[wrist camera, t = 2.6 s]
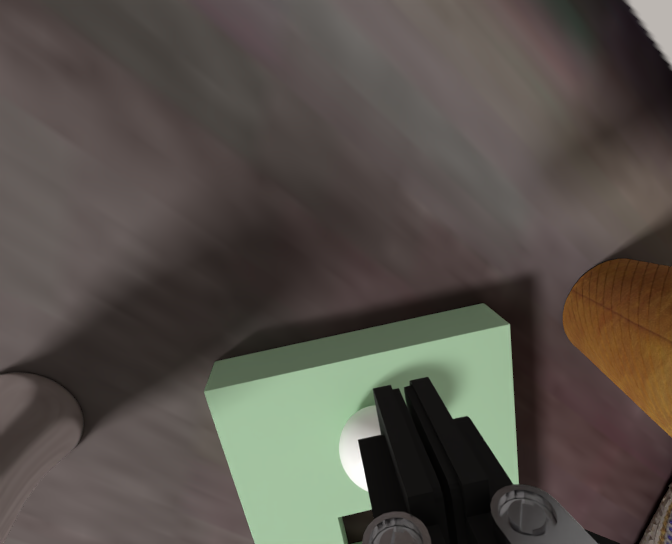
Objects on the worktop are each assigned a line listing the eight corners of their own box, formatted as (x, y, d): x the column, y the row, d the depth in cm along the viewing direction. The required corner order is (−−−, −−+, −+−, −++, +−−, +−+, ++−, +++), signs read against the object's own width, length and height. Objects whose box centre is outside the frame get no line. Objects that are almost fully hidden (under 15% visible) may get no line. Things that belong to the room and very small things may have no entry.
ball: (328, 398, 21) (336, 453, 17) (402, 382, 21) (427, 433, 17) (342, 459, 22) (352, 523, 18) (412, 443, 22) (436, 503, 19)
